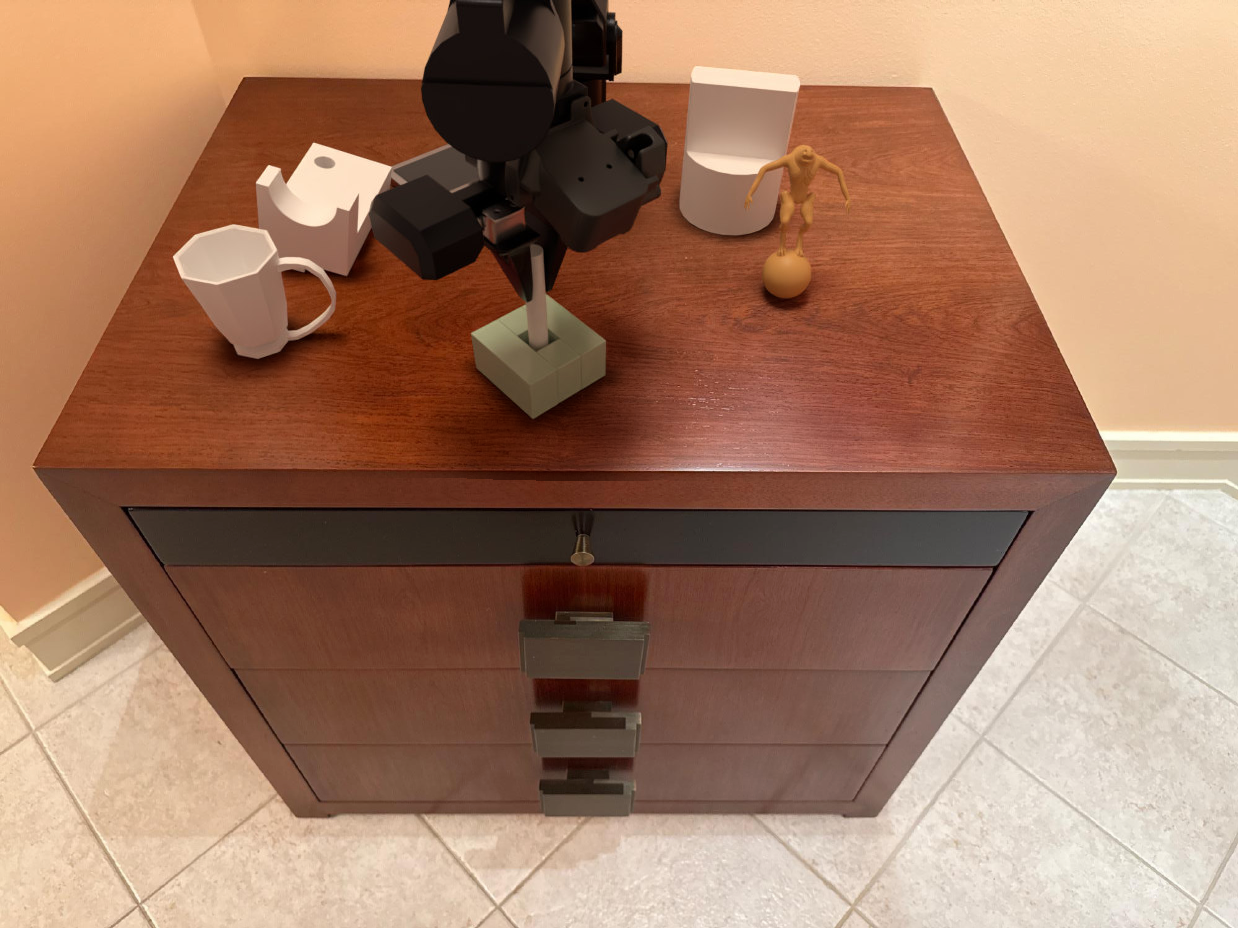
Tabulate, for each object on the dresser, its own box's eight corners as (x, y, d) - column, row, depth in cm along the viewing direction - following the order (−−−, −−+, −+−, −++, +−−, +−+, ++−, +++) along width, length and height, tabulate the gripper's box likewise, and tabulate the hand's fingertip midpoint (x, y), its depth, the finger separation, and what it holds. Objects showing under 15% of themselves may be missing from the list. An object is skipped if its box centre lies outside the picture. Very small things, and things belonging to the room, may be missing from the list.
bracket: (346, 284, 69) (349, 211, 63) (261, 260, 67) (255, 183, 62) (389, 199, 77) (394, 127, 71) (313, 176, 76) (313, 101, 70)
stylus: (541, 359, 61) (534, 241, 53) (553, 369, 61) (547, 251, 53) (527, 367, 61) (517, 249, 53) (539, 377, 60) (530, 259, 52)
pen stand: (547, 328, 64) (545, 293, 62) (605, 375, 61) (606, 340, 58) (475, 368, 61) (470, 333, 59) (532, 419, 58) (529, 385, 55)
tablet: (501, 131, 84) (500, 122, 83) (569, 176, 78) (569, 166, 78) (383, 178, 77) (381, 169, 77) (449, 230, 72) (447, 220, 72)
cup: (222, 313, 64) (182, 226, 58) (350, 304, 66) (324, 217, 59) (206, 374, 60) (161, 287, 54) (344, 363, 61) (315, 277, 55)
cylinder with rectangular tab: (776, 186, 78) (800, 59, 69) (773, 240, 73) (799, 110, 63) (684, 176, 79) (696, 50, 70) (674, 229, 73) (685, 99, 64)
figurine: (734, 306, 67) (757, 173, 57) (730, 261, 70) (751, 130, 61) (834, 310, 67) (873, 178, 57) (825, 265, 70) (860, 135, 61)
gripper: (461, 188, 36) (494, 425, 48) (747, 66, 44) (713, 295, 56) (334, 93, 41) (393, 329, 53) (611, 0, 49) (607, 223, 61)
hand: (535, 294), depth 55 cm, fingers closed on stylus, 1 cm apart
